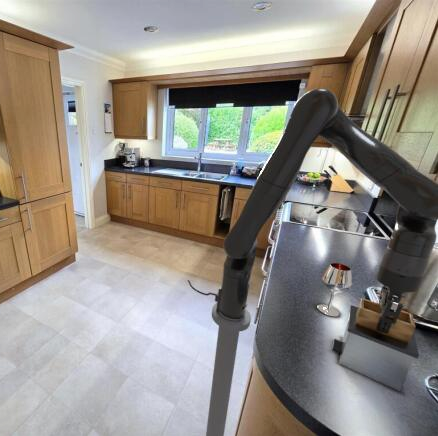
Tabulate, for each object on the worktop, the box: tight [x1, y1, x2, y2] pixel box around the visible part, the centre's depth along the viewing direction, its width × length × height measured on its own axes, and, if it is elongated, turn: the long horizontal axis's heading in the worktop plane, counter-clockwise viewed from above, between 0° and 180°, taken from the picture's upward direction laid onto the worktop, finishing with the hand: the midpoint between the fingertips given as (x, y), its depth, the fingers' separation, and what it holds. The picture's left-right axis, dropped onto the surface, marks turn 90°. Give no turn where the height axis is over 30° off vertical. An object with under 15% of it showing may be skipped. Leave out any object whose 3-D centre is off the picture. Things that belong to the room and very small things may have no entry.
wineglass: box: [317, 262, 353, 318], centre depth 85 cm, size 8×8×18 cm
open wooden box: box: [356, 297, 416, 343], centre depth 63 cm, size 10×6×5 cm, turn 49°
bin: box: [331, 304, 420, 392], centre depth 66 cm, size 14×13×12 cm
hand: (381, 324), depth 64 cm, fingers closed on open wooden box, 6 cm apart
